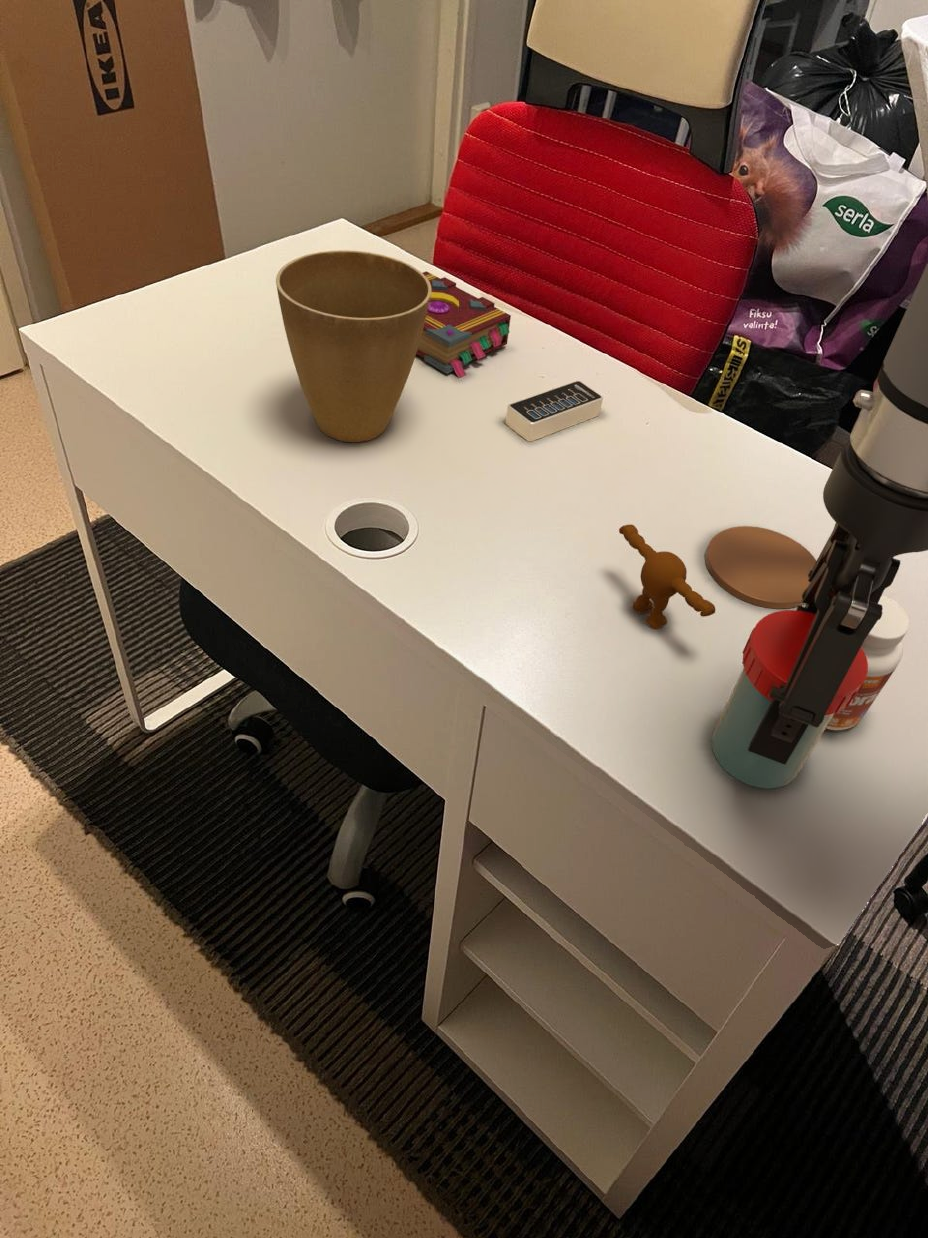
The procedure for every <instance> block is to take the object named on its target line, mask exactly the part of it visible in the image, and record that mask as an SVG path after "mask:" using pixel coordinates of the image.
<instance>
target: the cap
mask: <svg viewBox="0 0 928 1238" xmlns="http://www.w3.org/2000/svg"><path fill="white" fill-rule="evenodd" d="M796 610H797V609H785V610H778V611H774V612H771V613H768V614H767V615H765V616H763V617H762V618H761V619H759V621H757V623H756V624H755V626H754V627H753V628H752V630H751V632H750V635H749V637H748V639H747V641H746V643H745V646H744V648H743V650H742V662H741V664H742V666H743V669H744V670H745V673H746V675H747V677H748V679H749V680H750V682H751V683H752V684H753V686H754V687H755V688H756V689H757V690H758V691H759V692H760V693H761V694H762V695H763V696H764V697H766V698H767V699H768V700H770V701H771V702H772V700H773V699H772V698H769V692H770V689H771V687H772V686H775V687H778V688H779V687H780V685H781V686H785V684H786V682H787V680H788V677H789V675H790V673H791V670H792V668H793V666H794V663H795V661H796V659H797V657H798V654H799V652H800V650H801V647H802V645H803V643H804V640H805V638H806V636H807V634H808V631H809V629H810V627H811V624H812V622H813V620H814V617H815V615H816V614H812V613H809V612H804V611H796ZM867 672H868V662H867V658H866V655H865V653H864V651H863V649H862V647H861V648H860V650H859V652H858V653H857V655H856V657H855V659H854V661H853V663H852V665H851V667H850V668H849V670H848V672H847V674H846V676H845V678H844V680H843V682H842V684H841V685H840V687H839V689H838V691H837V693H836V695H835V697H834V699H833V700H832V702H831V704H830V706H829V708H828V710H827V712H826V714H825V715H831V714H834V713H838V712H839V711H841V710H843V709H844V708H847V707H848V706H849V704H850V703H851V701H852V700H854V699H855V697H856V696H857V694H858V692H859V691H860V689H861V688H862V686H863V682H864V680H865V679H866V676H867Z"/></svg>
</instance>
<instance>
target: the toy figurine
mask: <svg viewBox="0 0 928 1238" xmlns="http://www.w3.org/2000/svg"><path fill="white" fill-rule="evenodd" d="M618 533H619V534H620V535H623V538H624V539H625V540H626V542H627V543H628V544H629V546H630V547H631V548H633V549H634V550H637V552H638V553H639V555H640V556H641V557H643V559H644V563H643V564H642V566H641V570H640V582H641V585H642V591H641V594H639V595H638V596H637V597H636V599H635V600H634V601H633V602H632V609H633V611H635V612H636V613H638V614H645V613H648V612H649V611H650V612H649V615H648V616H647V618H646V620H645V622H646V624H647V625H648V627H650V628H652V629H659V628H662V627H664V626H665V625H667V623H668V618H667V616H665V615H664V613H663V612H664V611H665V610H666V608H667V607H668V605H669V602H670V601H669V600H670V599H671V597H673V596H675V595H676V594H678V595H680V596H682V597H683V598H684V601H685V603H686V604H687V605H688V606H689V607H690V608H691V609H693V610H694V611H695V612H697V613H699V612H700V613H699V615H700V617H705V618H706V617H709V616H711V615H712V616H713V615H714V614H716V606H715V605H714V603H712V602H711V601H710V600H708V599H704V597H703V596H702V595H701V594H700V593H698V592H697V591H695V590H693V588H692V586H691V585H690V584H689V583H687V582H686V580H687V572H688V571H687V568H686V565H685V563H684V561H683V560H682V559H681V558H680V557H679V556H678V555H677V554H675V553H673V552H670V551H665V550H664V551H656V550H654V549H653V547H652V546H651V545H649V544H648V543H646V540H645V538H644V537H643V536H642V535H641V534H640V533H639V530H638V529H637V527H636V526H635V525H634V524H625V525H622V526H620V527H619V529H618Z"/></svg>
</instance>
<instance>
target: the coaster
mask: <svg viewBox="0 0 928 1238" xmlns="http://www.w3.org/2000/svg"><path fill="white" fill-rule="evenodd" d="M704 559H705V564H706V567H707V571H708V572H709V574H710V576H711V577H712V578H713V579H714V581H715V582H716V583H717V585H719V586H720V587H722V588H723V589H724V590H725V591H726V592H728V593H730V595H733V596H734V597H736V598H737V599H740V600H742V601H744V602H746V603H749V604H751V605H755V606H758V607H763V608H768V609H777V610H778V609H779V610H780V609H781V610H782V609H783V610H784V609H785V610H786V609H792V608H798V606H803V605H806V604H805V603H802V594H803V592H804V591H805V589H807V587H808V586H809V584H810V583H811V582H808V579H809V577H808V574H809V571H810V570H812V568H813V567H814V565H815V563H816V561H817V559H816V558H815V556H814V555H813V554H812V553H811V551H809V550H808V549H807V548H806V547H805V546H803V545H802V544H801V543H799V542H798V541H796V540H794V539H793V538H791V537H789V536H788V535H785V534H783V533H781V532H778V531H775V530H772V529H769V528H765V527H759V526H750V525H747V526H746V525H743V526H742V525H741V526H734V527H730V528H726V529H724V530H721V531H720V532H718V533H716V534H715V535H714V536H713V537H712V538H711V539H710V541H709V543H708V545H707V548H706V551H705V558H704Z"/></svg>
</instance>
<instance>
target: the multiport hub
mask: <svg viewBox="0 0 928 1238" xmlns="http://www.w3.org/2000/svg"><path fill="white" fill-rule="evenodd" d="M603 400H604V396H602V395H601V394H599V393H598V392H597V391H595V389H592V388H591V387H589V386H588V385H587V384H585V383H584V382H582V381H581V380H575V381H573V382H572V381H571V382H570V383H566V384H563V385H561V386H557V387H555V388H552V389H549V390H547V391H544V392H541V393H538V394H535V395H532V396H529V397H526V398H524V399H520V400H517V401H515V402H512V403H509V404H507V410H506V415H505V416H506V417H505V425H506V426H507V427H509V428H510V429H511V430H513V431H514V432H515V433H517V434H518V435H519V436H520V437H522V438H523V439H524V440H526V441H527V442H533V441H537V440H539V439H541V438H544V437H547V436H549V435H552V434H554V433H557V432H559V431H562V430H563V431H564V430H565V429H568V428H571V427H573V426H575V425H579V424H581V423H583V422H587V421H589V420H591V419H594V418H597V417H599V416H600V413H601V409H602V405H603Z"/></svg>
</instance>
